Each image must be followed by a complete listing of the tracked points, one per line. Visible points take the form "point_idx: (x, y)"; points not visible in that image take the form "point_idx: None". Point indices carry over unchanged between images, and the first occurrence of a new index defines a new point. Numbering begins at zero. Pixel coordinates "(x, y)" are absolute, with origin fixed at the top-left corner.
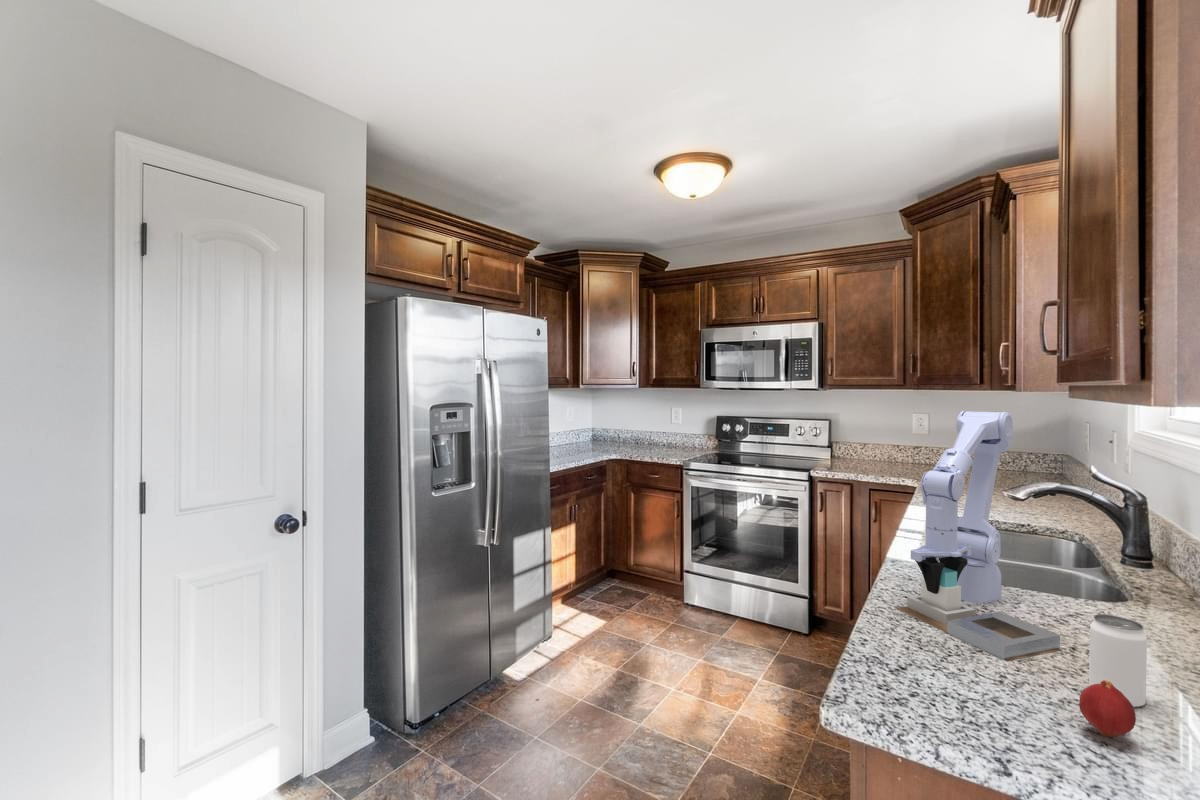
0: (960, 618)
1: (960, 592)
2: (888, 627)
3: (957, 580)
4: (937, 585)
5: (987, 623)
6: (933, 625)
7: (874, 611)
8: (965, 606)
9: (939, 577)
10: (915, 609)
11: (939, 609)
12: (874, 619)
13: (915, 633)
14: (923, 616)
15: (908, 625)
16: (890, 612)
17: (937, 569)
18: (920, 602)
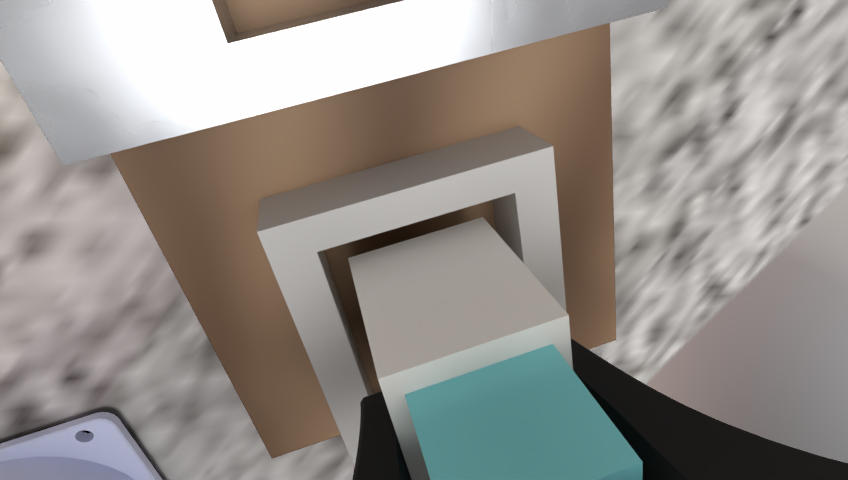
0: (543, 34)
1: (376, 336)
2: (781, 150)
3: (361, 472)
4: (603, 368)
5: (293, 24)
6: (602, 121)
7: (690, 325)
8: (301, 285)
9: (643, 425)
10: None
11: (533, 228)
12: (762, 240)
13: (720, 70)
14: None
15: (671, 173)
16: (630, 319)
17: (809, 471)
18: None
